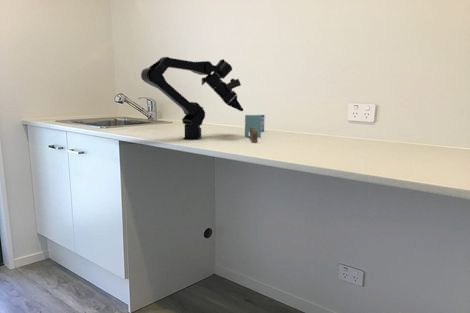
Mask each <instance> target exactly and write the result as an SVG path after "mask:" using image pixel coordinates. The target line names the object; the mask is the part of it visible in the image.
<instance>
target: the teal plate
mask: <svg viewBox="0 0 470 313" xmlns="http://www.w3.org/2000/svg"><path fill="white" fill-rule="evenodd" d="M261 115H262V114H244V116H245V117H244V137H245V138H250V127H254V128H255V130H257V131H258V133H257V138H261V136H262V132H261Z"/></svg>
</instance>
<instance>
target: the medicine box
mask: <svg viewBox="0 0 470 313" xmlns="http://www.w3.org/2000/svg"><path fill="white" fill-rule="evenodd" d="M260 115H261V133H263V132H265V116H266V115H265V114H260Z"/></svg>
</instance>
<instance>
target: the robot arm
mask: <svg viewBox="0 0 470 313" xmlns="http://www.w3.org/2000/svg"><path fill="white" fill-rule="evenodd" d="M169 68H170V69H177V70H184V71H190V72H192V73H194V74H197V75H198V76H199V75H200V76H205V77H202V78H201V79H200V80H201V85H202V86H204V84H205V83H206V84H207V85H208V86H209V87H210V88H211V89H212V90H213V91H214V92H215V93H216V94H217V96H218V97H219V98H221V99H222V101H223V102H224V103H225V104H226V105H227V106H229V107H231V108H233V109H236V110H238V111H240V112H243V111H244V109H243V106H242V105H241V104H240V102H239V101H238V94H237V93H236V91H234V90H233V89H235V88H237V87H240V86H241V85H242V84H241V82H240V79H239V78H237V79H235V78H231V79H230V81H229V82H228V83H226V82H225V81H223V80H222V79H225V78H226V77H227V76H228V75H229V74H230V73H231V72H232V71H233V67H232V65H231V64H229V62H228V61H226V60H225V59H219V61H218V62H217V64H216V65H214V64H213V63H212V62H211V61H210V60H209V61H208V60H207V61H205V60H204V61H191V60H185V59H179V58H173V57H168V56H163V57H160V58H159V60H157V61H156V62H155V63H153V64H151V65H150V66H149V67H146V68H143V69H142V71H141V73H140V76H141V77H140V78H141V80H142V81H143V82H145V83H147V85H150V86H151V87H153V88H156V89H157V90H159V91H160V92H161V93H162V94H164V95H165V96H166V97H168V98H169V99H170V100H171V101H172V102H173V103H174V104H175V105H177V106H178V107H180V109H182V112H183V114H184V116H183V117H182V119H181V121H182V124H183V125H184V137H183V140H199V139H201V138H202V127H201V126H202V125H203V121H204V119H205V118H206V112H205V110H204V109H205V107H202V105H200V103H198V102H195V101H194V102H193V101H189V100H188V99H187V98H186V97H185V96H183V94H181V93H180V92H178V90H176V89H175V88H174V87H173V86H172V85H171V84H170V83H168V82H167V80H166V78H165V76H164V74H165V72H166V71H167V70H168V69H169Z"/></svg>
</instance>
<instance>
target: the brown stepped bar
mask: <svg viewBox="0 0 470 313" xmlns="http://www.w3.org/2000/svg"><path fill="white" fill-rule="evenodd" d="M257 133H258V131H257V130H255V128H254V127H250V132H249V140H250V141H251V143H255V144H256V143H258V137H257Z"/></svg>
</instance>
